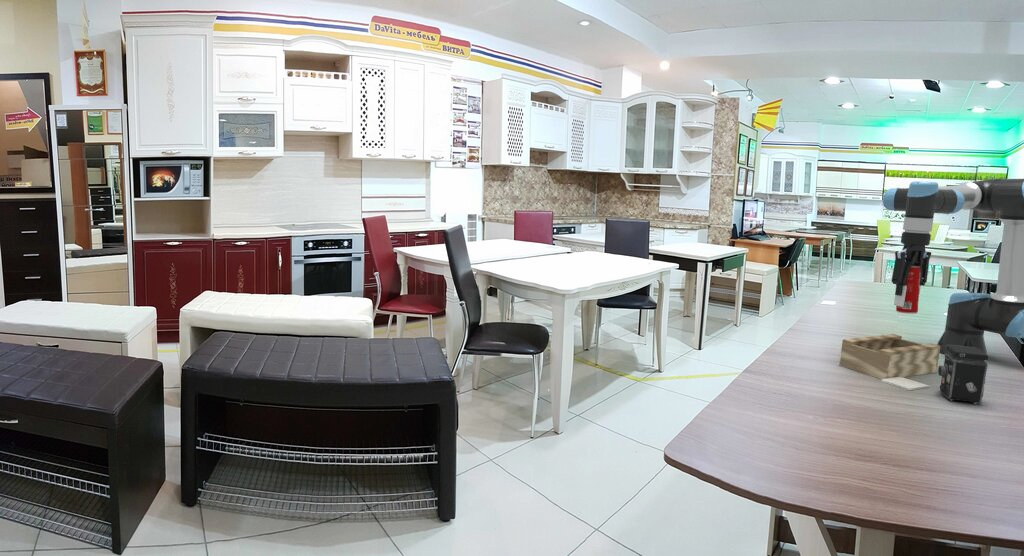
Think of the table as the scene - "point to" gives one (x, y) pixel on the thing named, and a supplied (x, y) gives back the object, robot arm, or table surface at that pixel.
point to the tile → (905, 383)
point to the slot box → (889, 356)
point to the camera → (963, 373)
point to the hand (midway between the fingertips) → (905, 305)
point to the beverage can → (911, 292)
